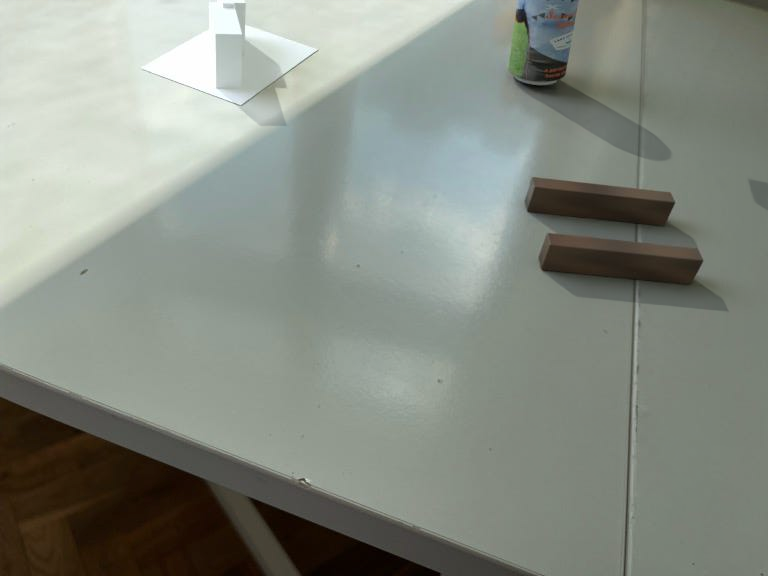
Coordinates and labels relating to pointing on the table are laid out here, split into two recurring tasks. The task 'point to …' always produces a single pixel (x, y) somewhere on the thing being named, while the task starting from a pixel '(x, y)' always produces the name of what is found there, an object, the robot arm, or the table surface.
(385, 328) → the table surface
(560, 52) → the beverage can
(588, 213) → the slot
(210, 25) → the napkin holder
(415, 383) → the table surface
